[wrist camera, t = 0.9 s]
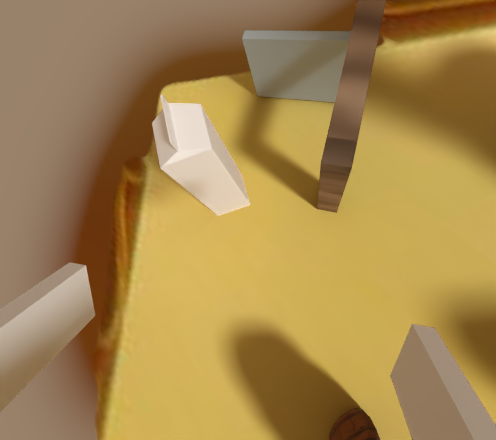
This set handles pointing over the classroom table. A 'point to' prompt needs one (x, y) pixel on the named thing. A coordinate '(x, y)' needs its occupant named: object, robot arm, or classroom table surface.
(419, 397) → the robot arm
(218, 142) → the milk
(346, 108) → the door frame
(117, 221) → the classroom table surface
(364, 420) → the wooden figurine
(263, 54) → the door
